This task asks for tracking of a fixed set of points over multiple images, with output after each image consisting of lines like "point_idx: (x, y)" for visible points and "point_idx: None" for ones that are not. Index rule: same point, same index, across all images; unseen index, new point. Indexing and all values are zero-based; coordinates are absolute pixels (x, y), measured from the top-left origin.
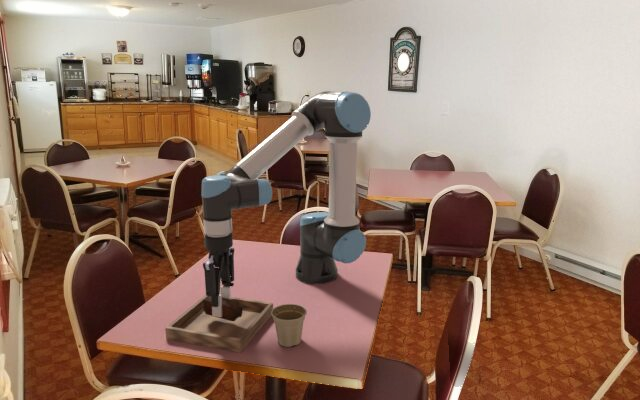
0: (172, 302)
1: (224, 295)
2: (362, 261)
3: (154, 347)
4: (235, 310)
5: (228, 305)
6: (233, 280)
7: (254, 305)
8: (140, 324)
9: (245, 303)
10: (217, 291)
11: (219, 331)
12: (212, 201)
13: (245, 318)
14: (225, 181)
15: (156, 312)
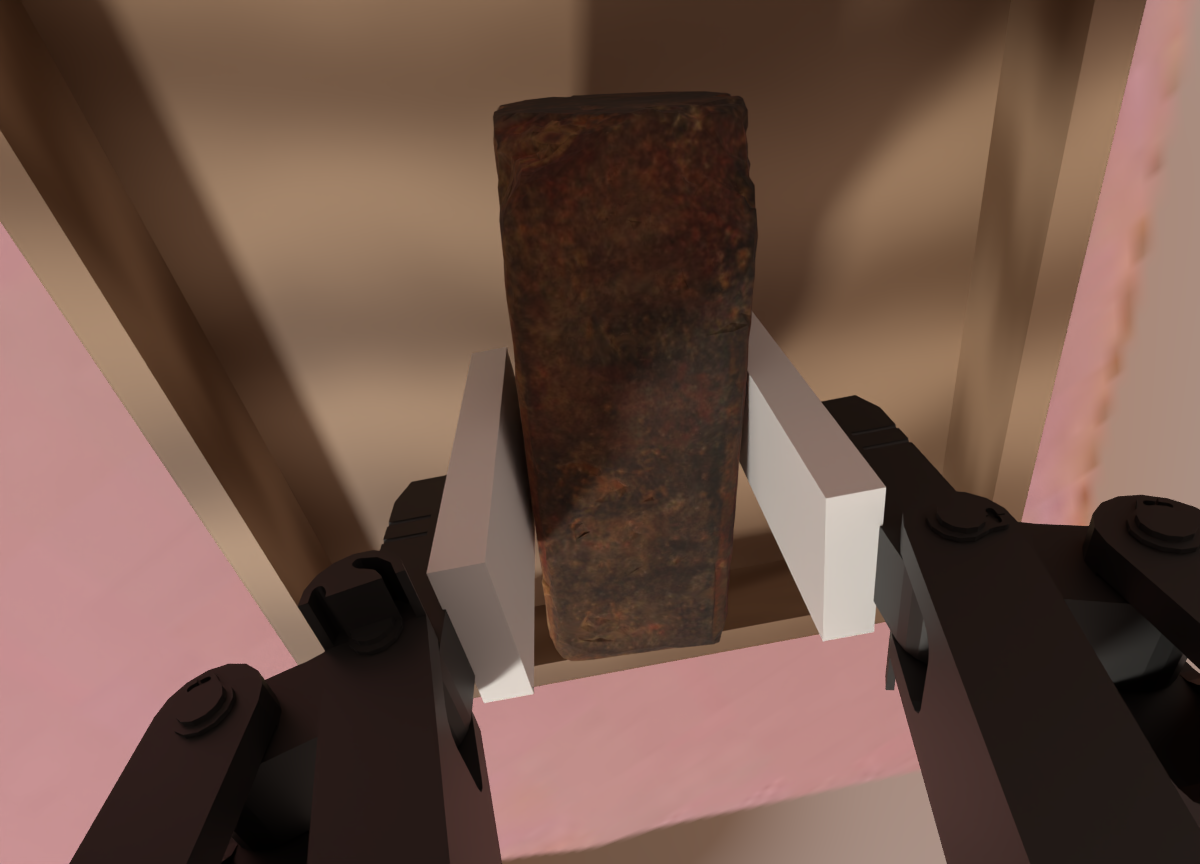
0: (510, 783)
1: (519, 523)
2: None
3: (1065, 517)
4: (718, 103)
5: (723, 279)
6: (214, 681)
7: (89, 204)
8: (821, 735)
9: (161, 337)
10: (1047, 579)
11: (766, 233)
12: None
13: (379, 149)
14: None
15: (663, 764)
